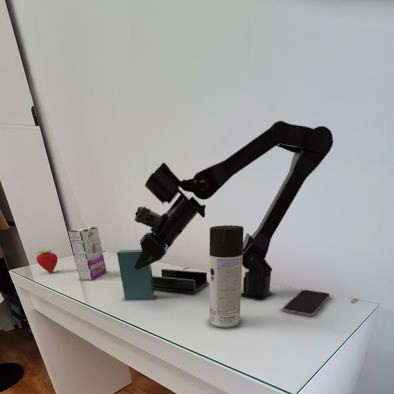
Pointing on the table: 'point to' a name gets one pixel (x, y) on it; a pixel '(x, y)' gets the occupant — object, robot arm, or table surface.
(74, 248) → the candy bar box
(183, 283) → the black rack
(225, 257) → the spray can
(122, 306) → the table surface
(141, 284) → the book
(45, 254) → the strawberry
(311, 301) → the smartphone
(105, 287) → the table surface
